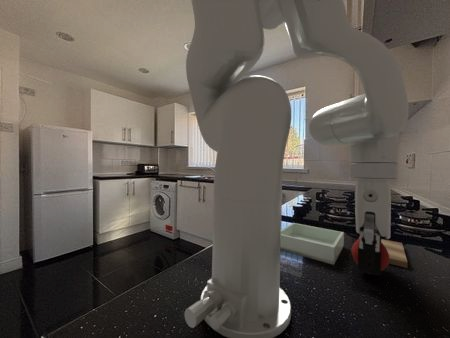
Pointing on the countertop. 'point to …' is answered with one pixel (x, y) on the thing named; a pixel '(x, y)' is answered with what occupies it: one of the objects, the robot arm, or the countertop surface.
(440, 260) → the countertop surface
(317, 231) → the bin
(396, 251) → the board
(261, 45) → the robot arm
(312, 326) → the countertop surface
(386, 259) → the onion
